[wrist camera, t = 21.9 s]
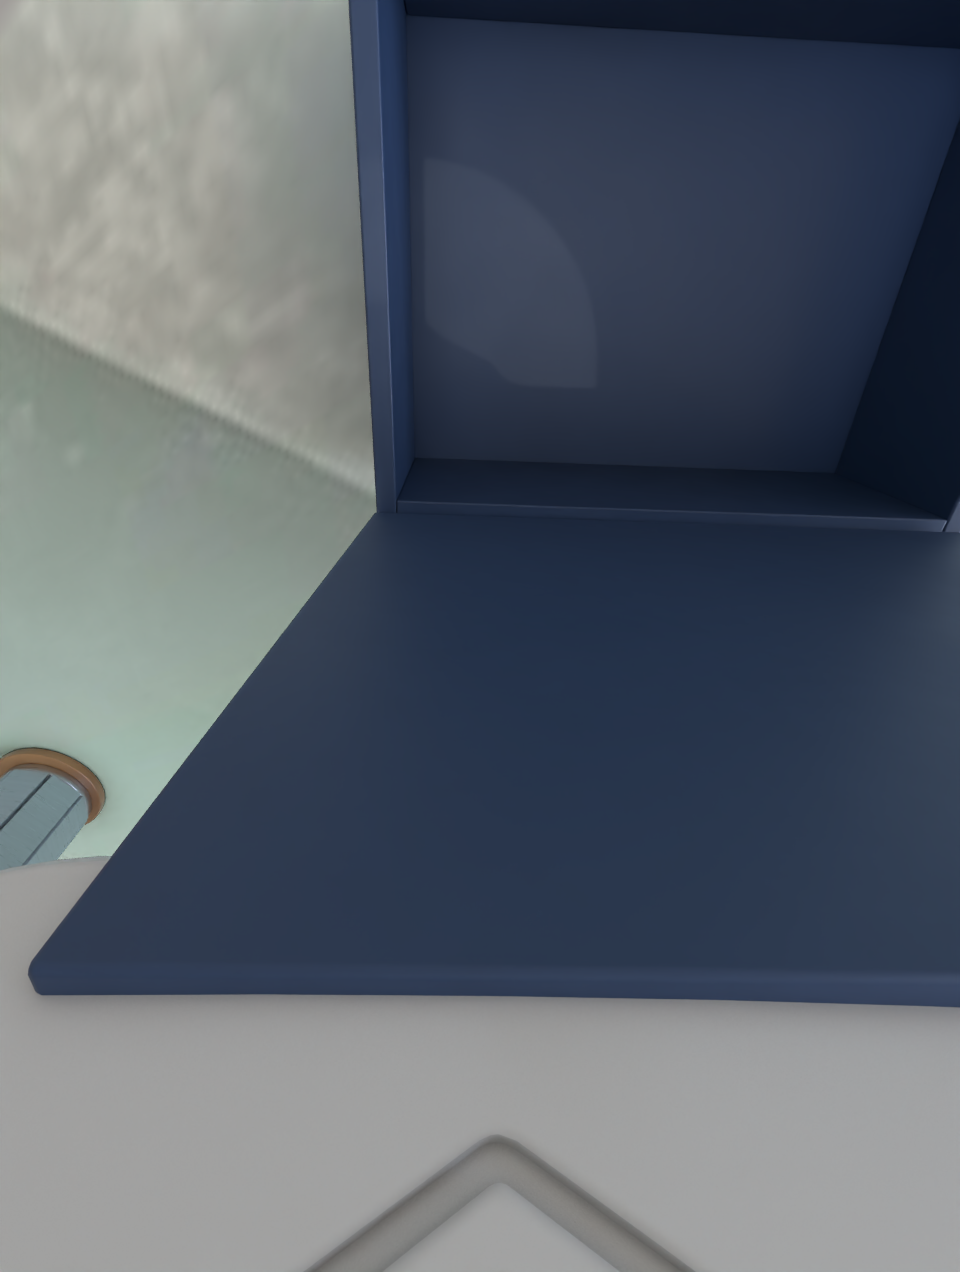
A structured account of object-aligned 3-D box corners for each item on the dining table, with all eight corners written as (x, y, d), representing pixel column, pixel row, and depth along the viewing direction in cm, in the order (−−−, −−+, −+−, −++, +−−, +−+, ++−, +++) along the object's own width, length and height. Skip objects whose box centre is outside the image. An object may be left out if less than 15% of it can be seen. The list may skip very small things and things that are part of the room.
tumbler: (-17, 787, 30) (-132, 896, 24) (34, 749, 28) (-74, 855, 23) (59, 835, 32) (-31, 947, 26) (110, 801, 30) (27, 911, 25)
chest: (386, -6, 16) (337, -197, 10) (996, 32, 16) (1286, -130, 10) (401, 468, 22) (376, 519, 16) (835, 484, 23) (959, 539, 17)
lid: (18, 970, 3) (160, 1272, 5) (2576, 995, 4) (1910, 1262, 6) (374, 512, 16) (380, 646, 18) (973, 532, 16) (920, 660, 18)
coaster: (-26, 777, 30) (-33, 784, 30) (36, 731, 28) (29, 737, 28) (64, 835, 32) (59, 842, 32) (126, 795, 31) (121, 801, 30)
